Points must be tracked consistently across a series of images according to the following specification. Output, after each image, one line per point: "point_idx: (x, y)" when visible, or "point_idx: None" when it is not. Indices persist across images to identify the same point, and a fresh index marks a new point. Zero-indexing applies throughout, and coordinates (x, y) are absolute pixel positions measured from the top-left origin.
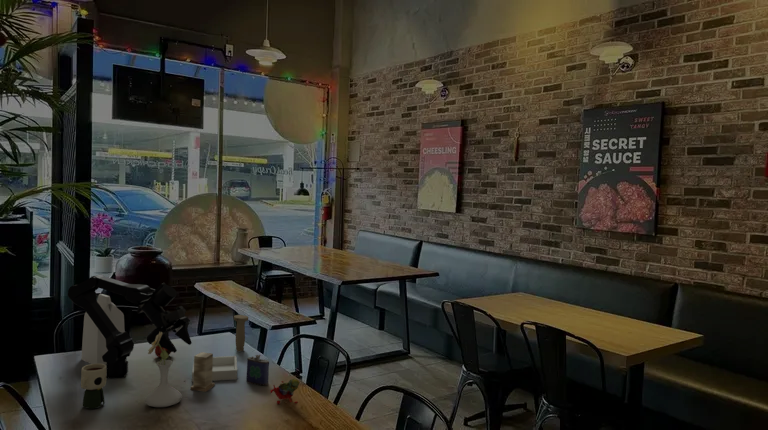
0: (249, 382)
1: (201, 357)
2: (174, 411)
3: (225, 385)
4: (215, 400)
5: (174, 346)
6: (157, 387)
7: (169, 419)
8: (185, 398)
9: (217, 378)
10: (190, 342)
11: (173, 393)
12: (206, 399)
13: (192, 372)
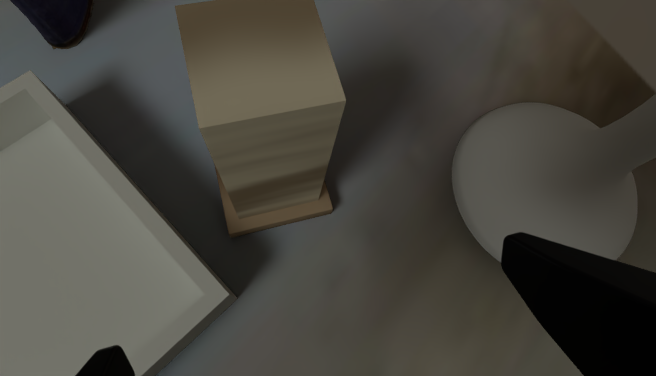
0: (86, 19)
1: (321, 31)
2: (537, 94)
3: (180, 99)
4: (353, 29)
5: (569, 261)
6: (625, 183)
7: (588, 60)
8: (423, 151)
9: (131, 180)
10: (116, 357)
11: (545, 111)
12: (370, 66)
13: (227, 291)
